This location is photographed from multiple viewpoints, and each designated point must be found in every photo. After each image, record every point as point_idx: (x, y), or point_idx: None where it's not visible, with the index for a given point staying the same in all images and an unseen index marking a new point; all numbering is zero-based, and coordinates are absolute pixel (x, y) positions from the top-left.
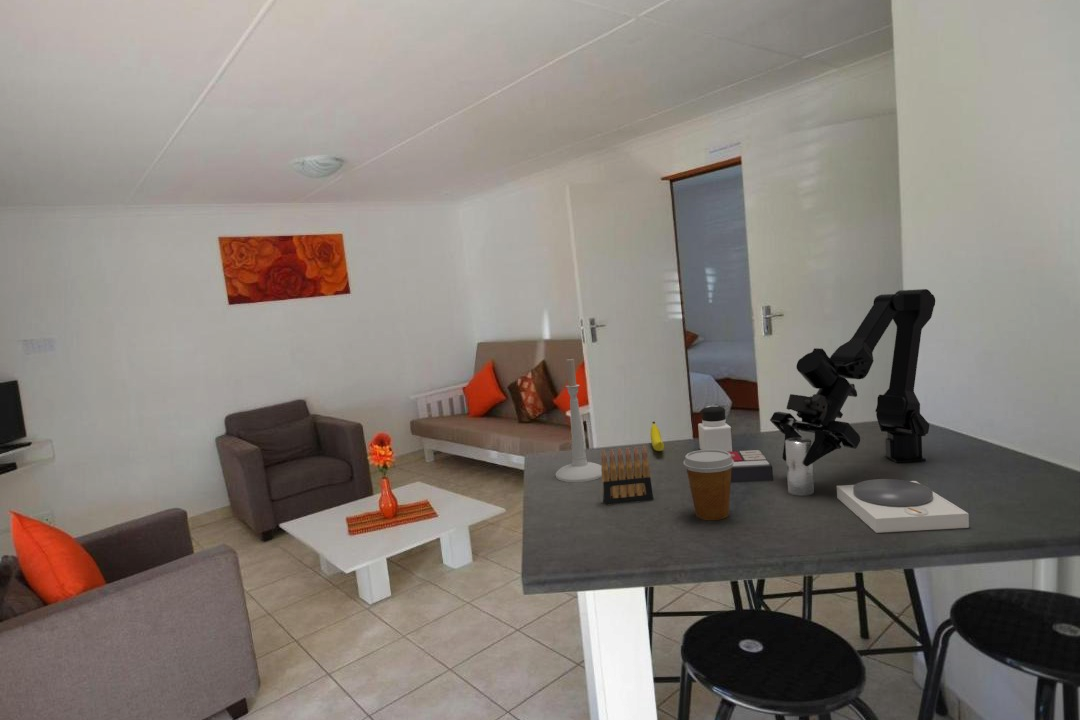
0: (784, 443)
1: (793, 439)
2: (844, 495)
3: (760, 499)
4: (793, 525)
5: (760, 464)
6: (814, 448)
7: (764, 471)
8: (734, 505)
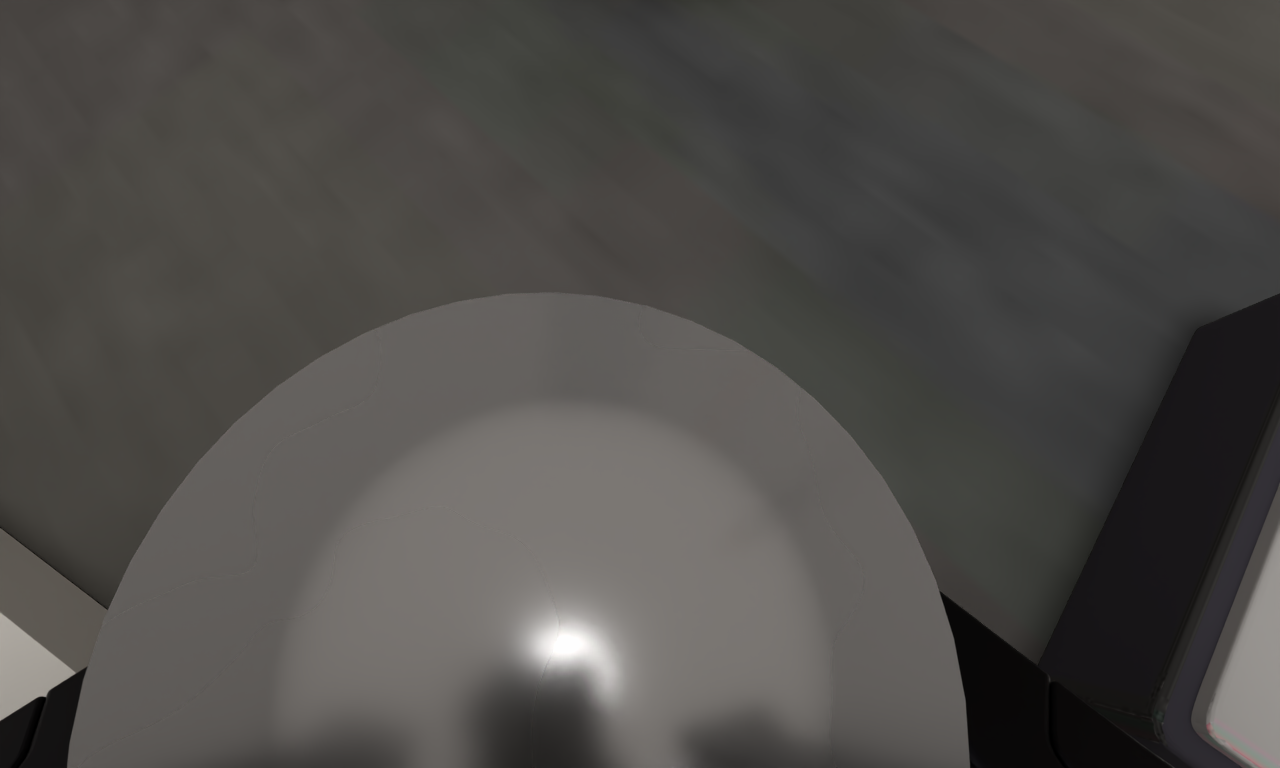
0: (1039, 669)
1: (737, 691)
2: (52, 628)
3: (689, 252)
4: (224, 84)
5: (1246, 624)
6: (17, 724)
7: (1134, 634)
8: (711, 69)
